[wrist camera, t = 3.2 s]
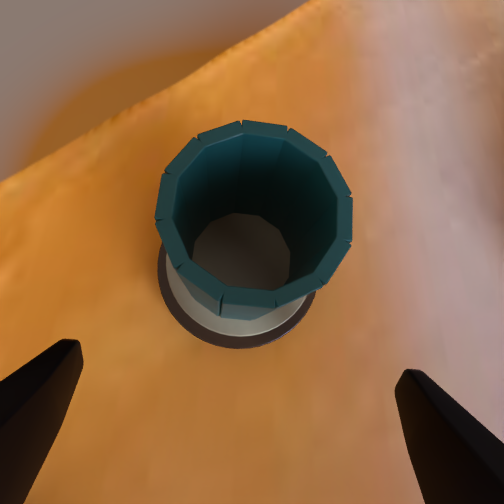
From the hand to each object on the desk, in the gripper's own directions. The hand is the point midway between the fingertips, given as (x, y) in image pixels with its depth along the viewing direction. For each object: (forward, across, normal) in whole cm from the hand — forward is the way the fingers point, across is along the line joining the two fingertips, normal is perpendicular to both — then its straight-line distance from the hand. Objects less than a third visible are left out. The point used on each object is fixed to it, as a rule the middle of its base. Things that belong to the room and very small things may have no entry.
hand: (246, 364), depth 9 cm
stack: (+12, 0, +5) cm, 13 cm away
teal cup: (+10, 0, +3) cm, 10 cm away
